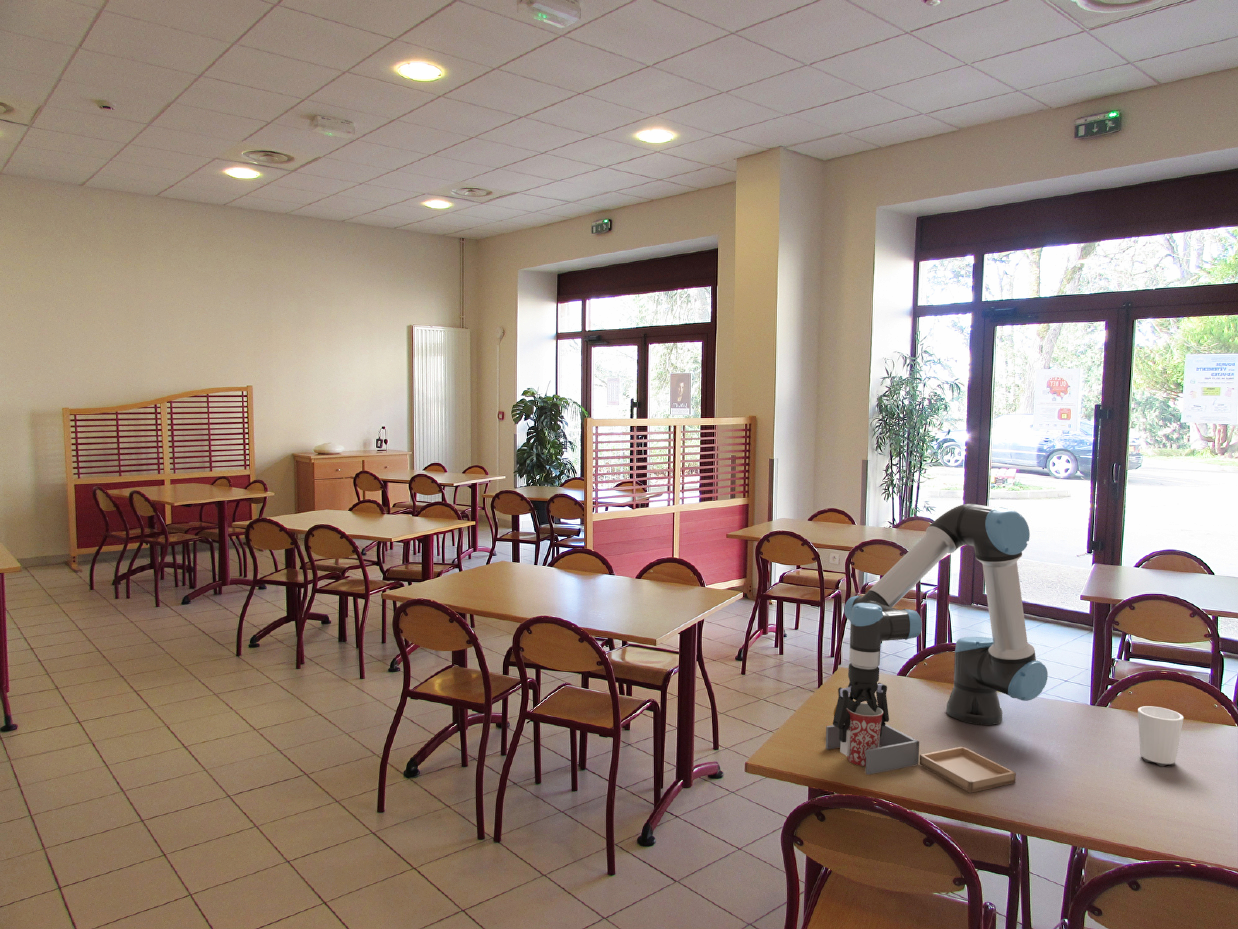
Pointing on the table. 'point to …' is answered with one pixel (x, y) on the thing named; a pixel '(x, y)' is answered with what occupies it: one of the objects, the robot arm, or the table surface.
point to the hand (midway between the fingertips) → (859, 751)
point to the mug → (863, 732)
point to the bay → (883, 750)
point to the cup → (1159, 734)
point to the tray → (967, 769)
